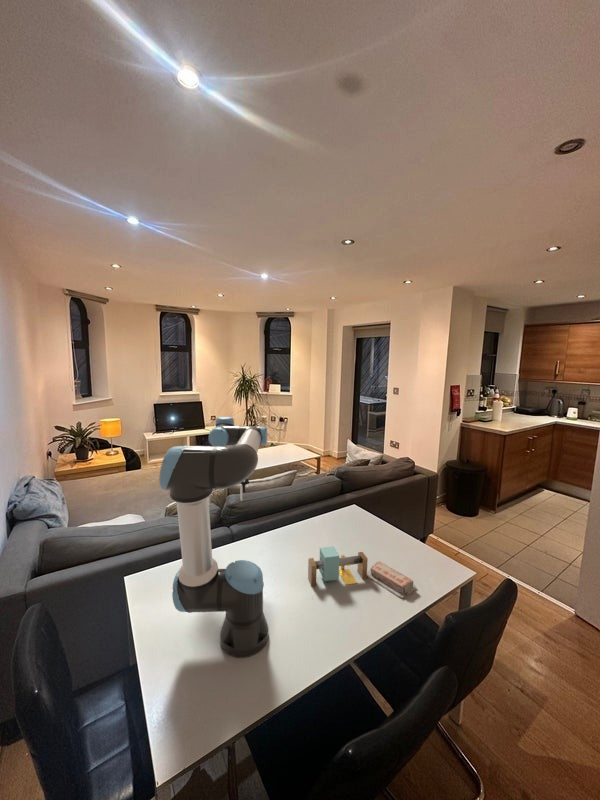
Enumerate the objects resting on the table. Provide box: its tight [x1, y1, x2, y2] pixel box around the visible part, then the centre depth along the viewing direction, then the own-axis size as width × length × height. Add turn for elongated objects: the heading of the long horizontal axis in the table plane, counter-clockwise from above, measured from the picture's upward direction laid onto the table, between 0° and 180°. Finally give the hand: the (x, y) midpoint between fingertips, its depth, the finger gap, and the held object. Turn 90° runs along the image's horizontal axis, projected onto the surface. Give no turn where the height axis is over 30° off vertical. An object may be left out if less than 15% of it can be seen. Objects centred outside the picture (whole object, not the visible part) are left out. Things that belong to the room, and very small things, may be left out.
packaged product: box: [367, 561, 417, 600], centre depth 132 cm, size 18×5×10 cm
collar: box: [318, 546, 340, 582], centre depth 132 cm, size 6×7×10 cm
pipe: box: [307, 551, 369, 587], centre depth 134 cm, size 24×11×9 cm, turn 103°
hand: (225, 501), depth 142 cm, fingers open, 13 cm apart
